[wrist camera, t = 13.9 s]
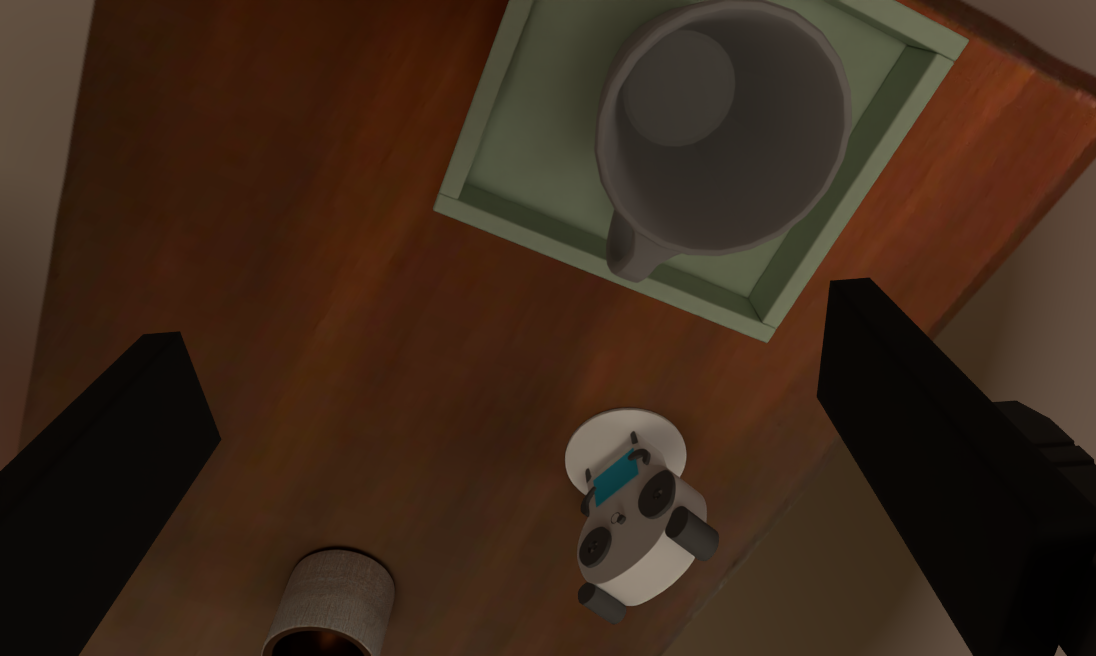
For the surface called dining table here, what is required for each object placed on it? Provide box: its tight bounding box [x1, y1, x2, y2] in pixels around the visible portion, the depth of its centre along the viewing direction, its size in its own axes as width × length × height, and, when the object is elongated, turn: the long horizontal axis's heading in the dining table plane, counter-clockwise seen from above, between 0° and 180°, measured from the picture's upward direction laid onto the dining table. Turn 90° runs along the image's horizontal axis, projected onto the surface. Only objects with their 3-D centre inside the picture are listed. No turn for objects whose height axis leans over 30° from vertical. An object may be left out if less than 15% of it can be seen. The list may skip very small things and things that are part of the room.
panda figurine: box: [565, 408, 719, 624], centre depth 59 cm, size 12×11×15 cm
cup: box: [594, 0, 852, 283], centre depth 25 cm, size 8×10×8 cm
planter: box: [261, 550, 395, 656], centre depth 70 cm, size 11×11×10 cm
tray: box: [433, 0, 969, 343], centre depth 38 cm, size 16×14×25 cm
